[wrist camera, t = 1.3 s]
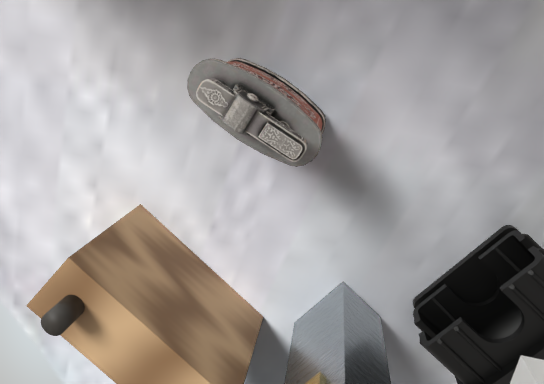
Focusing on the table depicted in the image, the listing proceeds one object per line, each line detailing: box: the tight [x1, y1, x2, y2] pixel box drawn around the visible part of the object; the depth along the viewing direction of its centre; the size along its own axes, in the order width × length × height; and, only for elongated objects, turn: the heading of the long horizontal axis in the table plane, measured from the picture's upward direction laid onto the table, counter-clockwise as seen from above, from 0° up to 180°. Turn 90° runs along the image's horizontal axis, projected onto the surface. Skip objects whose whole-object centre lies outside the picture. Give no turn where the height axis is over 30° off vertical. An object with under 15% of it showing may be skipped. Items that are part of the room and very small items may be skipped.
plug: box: [27, 204, 263, 384], centre depth 31 cm, size 13×4×12 cm, turn 46°
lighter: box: [187, 58, 326, 167], centre depth 27 cm, size 8×3×10 cm, turn 57°
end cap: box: [413, 225, 544, 384], centre depth 31 cm, size 10×7×7 cm
